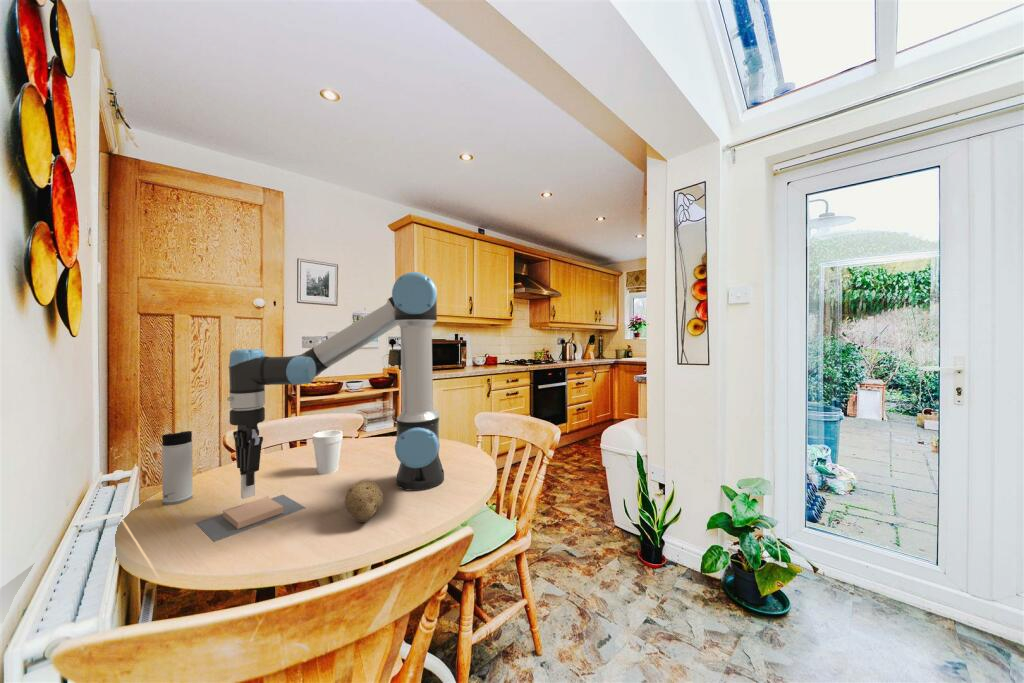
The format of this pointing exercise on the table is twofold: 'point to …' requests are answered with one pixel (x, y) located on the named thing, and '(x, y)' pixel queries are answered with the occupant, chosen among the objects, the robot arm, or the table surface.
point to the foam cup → (327, 450)
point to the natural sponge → (363, 500)
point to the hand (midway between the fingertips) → (248, 496)
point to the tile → (252, 512)
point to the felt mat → (223, 528)
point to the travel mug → (177, 467)
